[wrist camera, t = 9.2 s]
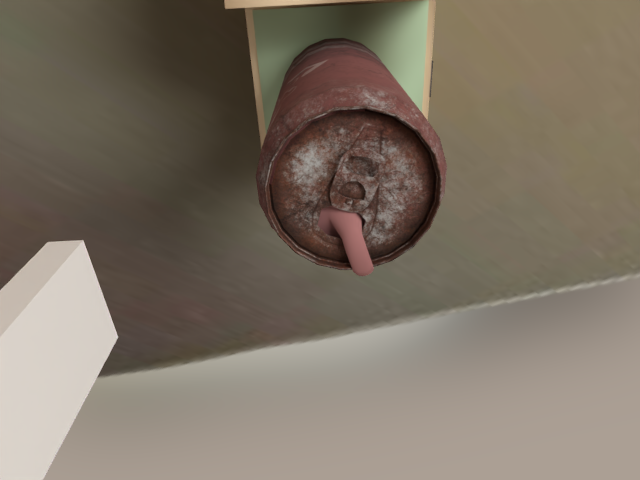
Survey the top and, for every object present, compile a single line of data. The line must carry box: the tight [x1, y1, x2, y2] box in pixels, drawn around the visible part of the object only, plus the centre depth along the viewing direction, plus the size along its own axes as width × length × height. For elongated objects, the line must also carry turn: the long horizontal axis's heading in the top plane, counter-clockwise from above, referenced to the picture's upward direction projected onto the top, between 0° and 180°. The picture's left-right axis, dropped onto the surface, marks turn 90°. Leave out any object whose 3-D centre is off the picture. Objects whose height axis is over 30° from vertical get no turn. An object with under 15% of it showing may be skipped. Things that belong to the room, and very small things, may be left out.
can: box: [256, 38, 447, 276], centre depth 20 cm, size 6×6×14 cm
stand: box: [224, 0, 436, 149], centre depth 24 cm, size 10×17×12 cm, turn 3°
